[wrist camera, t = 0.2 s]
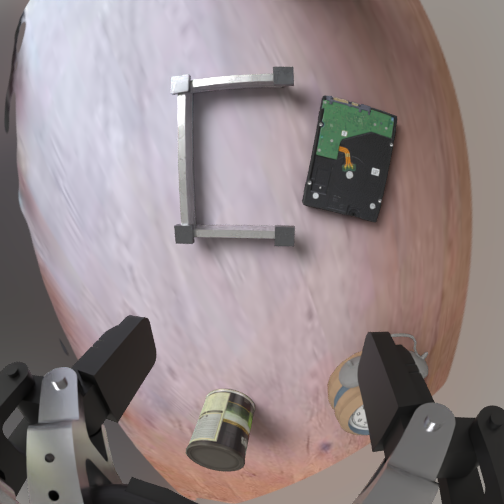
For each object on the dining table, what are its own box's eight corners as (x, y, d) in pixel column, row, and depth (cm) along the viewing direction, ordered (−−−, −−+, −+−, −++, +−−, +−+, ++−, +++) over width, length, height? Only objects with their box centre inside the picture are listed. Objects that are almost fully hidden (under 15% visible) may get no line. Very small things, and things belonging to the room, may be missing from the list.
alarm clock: (324, 446, 39) (345, 355, 32) (322, 411, 47) (336, 318, 40) (409, 435, 36) (453, 342, 29) (399, 403, 45) (430, 312, 38)
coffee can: (257, 393, 47) (247, 452, 34) (252, 422, 51) (241, 475, 37) (205, 383, 48) (183, 439, 35) (205, 413, 51) (187, 463, 38)
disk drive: (372, 218, 36) (391, 117, 31) (377, 223, 33) (398, 115, 28) (301, 202, 36) (319, 97, 31) (302, 206, 34) (322, 93, 29)
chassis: (181, 84, 32) (171, 77, 29) (292, 76, 30) (293, 66, 27) (185, 236, 39) (175, 243, 36) (293, 238, 37) (294, 246, 34)
